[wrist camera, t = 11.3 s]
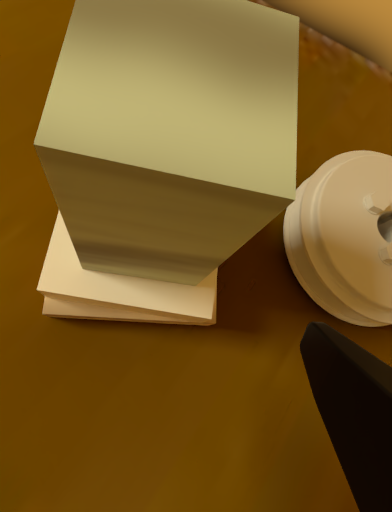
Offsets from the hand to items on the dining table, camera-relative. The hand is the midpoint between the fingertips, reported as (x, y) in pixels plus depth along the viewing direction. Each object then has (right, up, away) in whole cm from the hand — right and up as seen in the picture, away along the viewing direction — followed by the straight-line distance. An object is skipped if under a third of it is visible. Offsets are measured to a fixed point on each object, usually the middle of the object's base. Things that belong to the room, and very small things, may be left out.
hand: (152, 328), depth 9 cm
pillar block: (-1, +4, +10) cm, 11 cm away
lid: (+13, +3, +18) cm, 23 cm away
